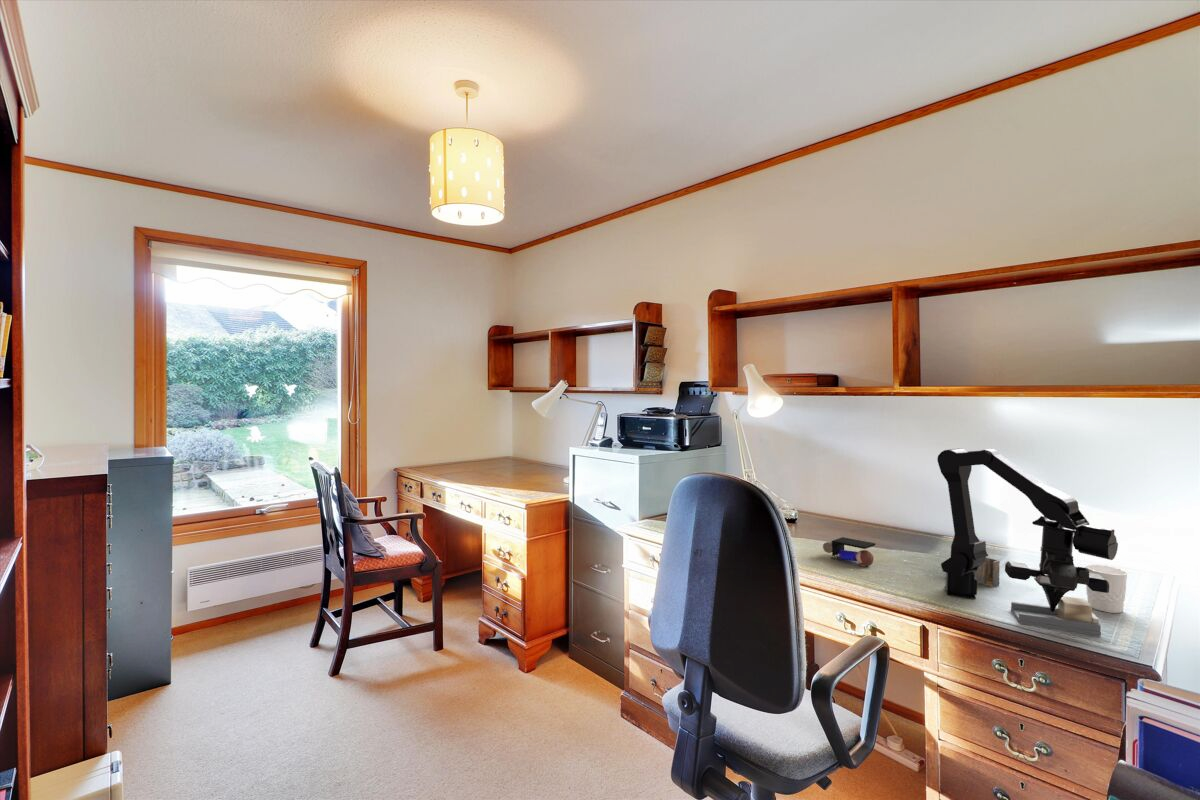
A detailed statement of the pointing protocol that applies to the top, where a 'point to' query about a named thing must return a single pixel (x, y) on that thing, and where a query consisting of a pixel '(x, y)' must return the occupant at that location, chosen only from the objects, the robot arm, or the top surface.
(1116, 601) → the white cup
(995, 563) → the brown piece
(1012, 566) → the robot arm
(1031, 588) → the top surface
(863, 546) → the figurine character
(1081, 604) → the birch block
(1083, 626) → the chute
